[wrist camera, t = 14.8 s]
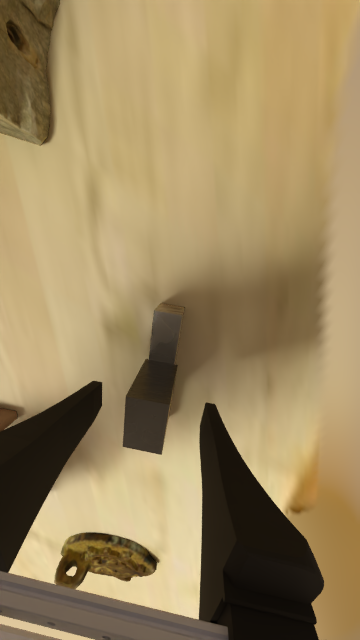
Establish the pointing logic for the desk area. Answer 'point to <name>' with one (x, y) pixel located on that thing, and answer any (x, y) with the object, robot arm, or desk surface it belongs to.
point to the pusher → (154, 384)
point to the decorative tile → (25, 68)
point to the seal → (102, 558)
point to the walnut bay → (6, 418)
